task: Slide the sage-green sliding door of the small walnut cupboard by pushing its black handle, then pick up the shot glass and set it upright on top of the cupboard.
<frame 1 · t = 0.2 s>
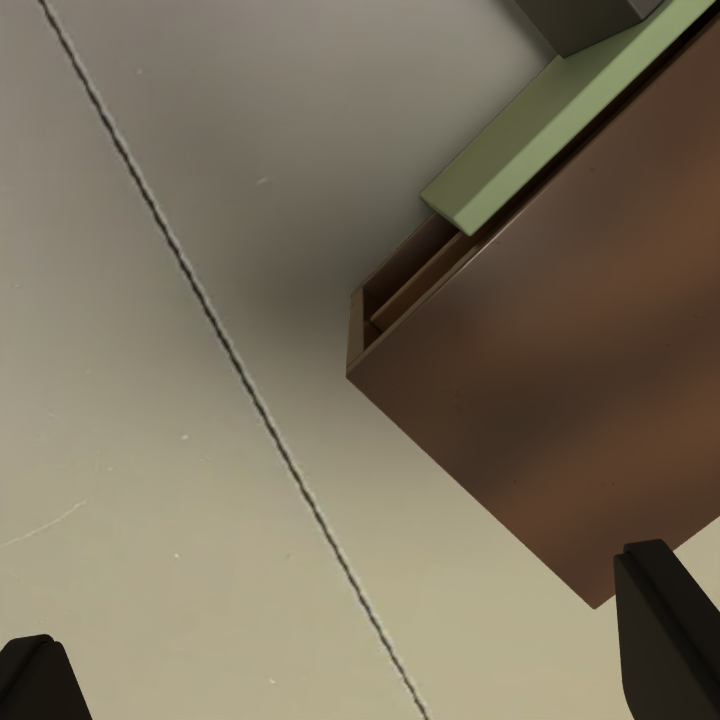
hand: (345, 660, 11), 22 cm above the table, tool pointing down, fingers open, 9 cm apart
sliding door: (485, 43, 22), point 6 cm above the table, slide at 0.0 cm
cupboard: (559, 265, 31), on the table
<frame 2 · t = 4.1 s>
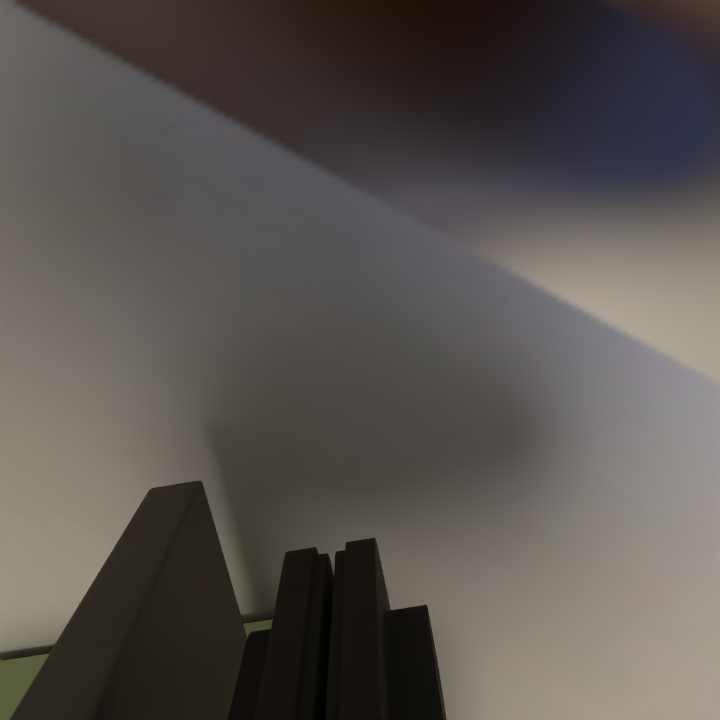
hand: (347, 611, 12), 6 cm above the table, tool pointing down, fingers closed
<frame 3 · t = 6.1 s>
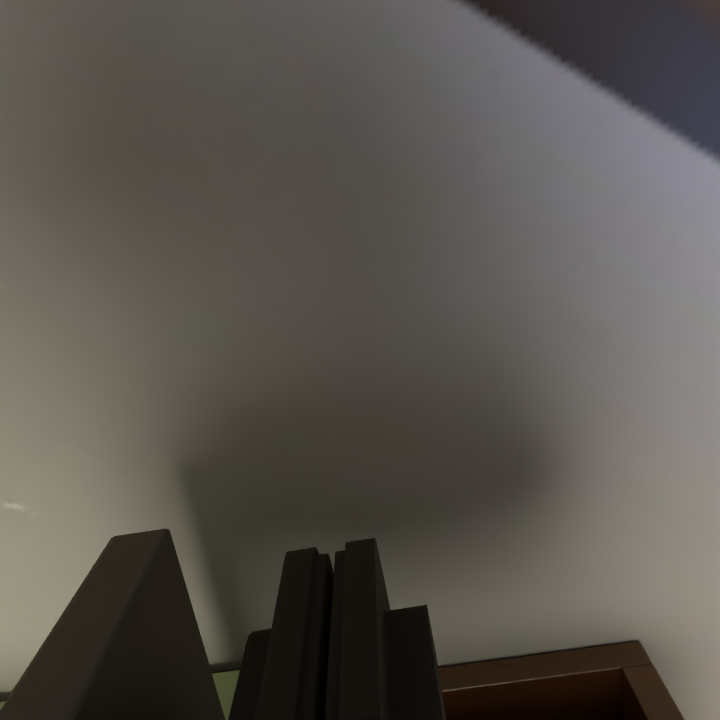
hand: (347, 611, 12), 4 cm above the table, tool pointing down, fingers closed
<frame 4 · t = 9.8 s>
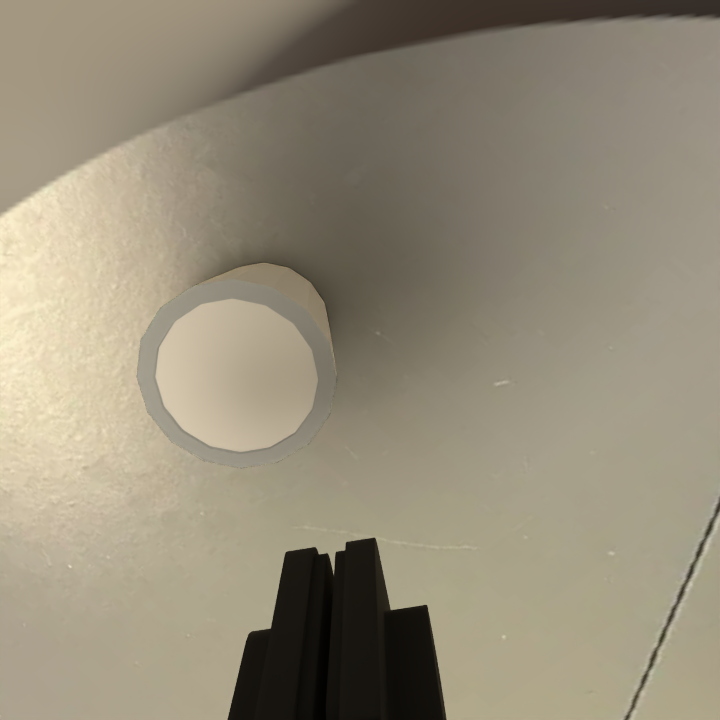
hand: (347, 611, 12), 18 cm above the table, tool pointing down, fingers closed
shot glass: (266, 324, 29), on the table
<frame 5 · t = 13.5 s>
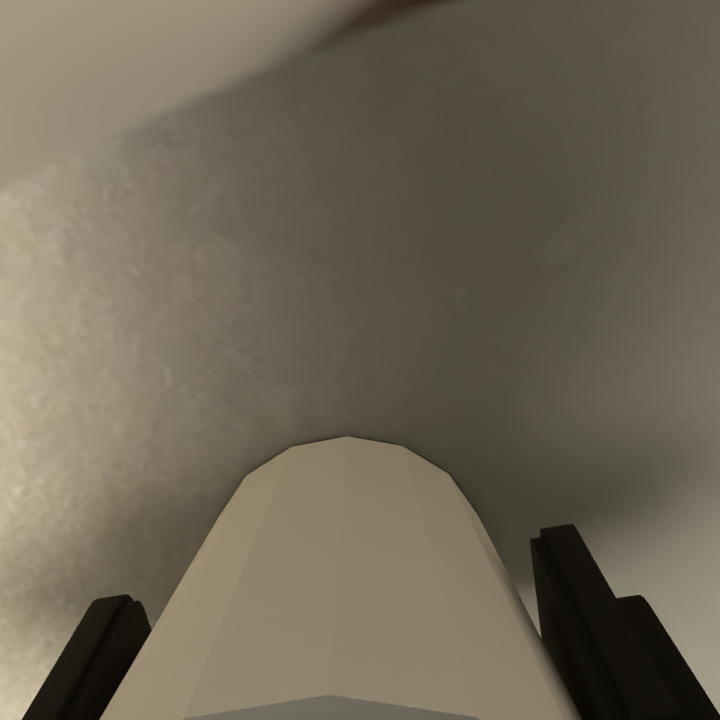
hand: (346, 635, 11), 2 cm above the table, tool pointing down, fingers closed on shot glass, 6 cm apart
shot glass: (349, 555, 14), on the table, touching gripper
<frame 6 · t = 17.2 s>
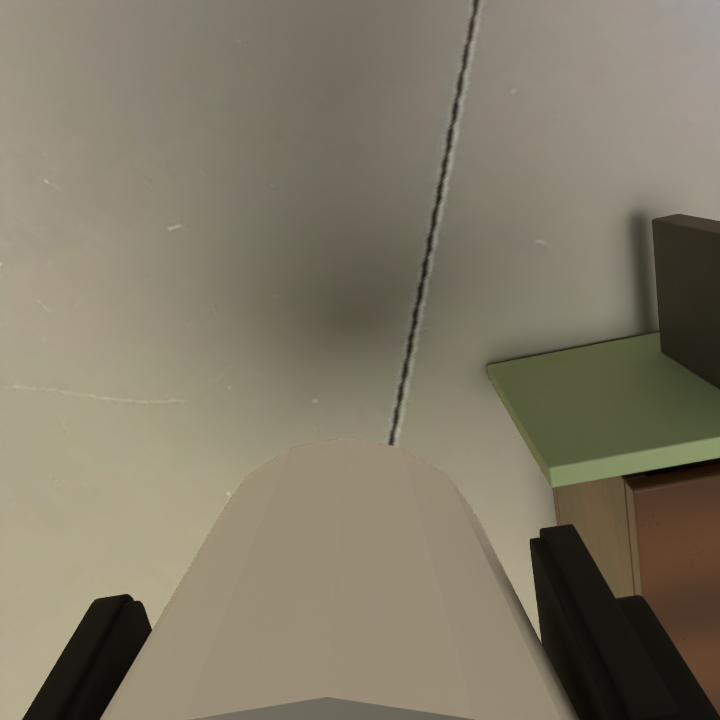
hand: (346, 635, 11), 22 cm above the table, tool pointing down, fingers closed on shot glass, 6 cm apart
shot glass: (348, 556, 14), point 19 cm above the table, touching gripper
sliding door: (627, 323, 26), point 6 cm above the table, slide at 8.0 cm
cupboard: (703, 450, 34), on the table
when the fingers open (14 cm above the table, at t = 20.9 s): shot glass stays where it is, resting on cupboard.
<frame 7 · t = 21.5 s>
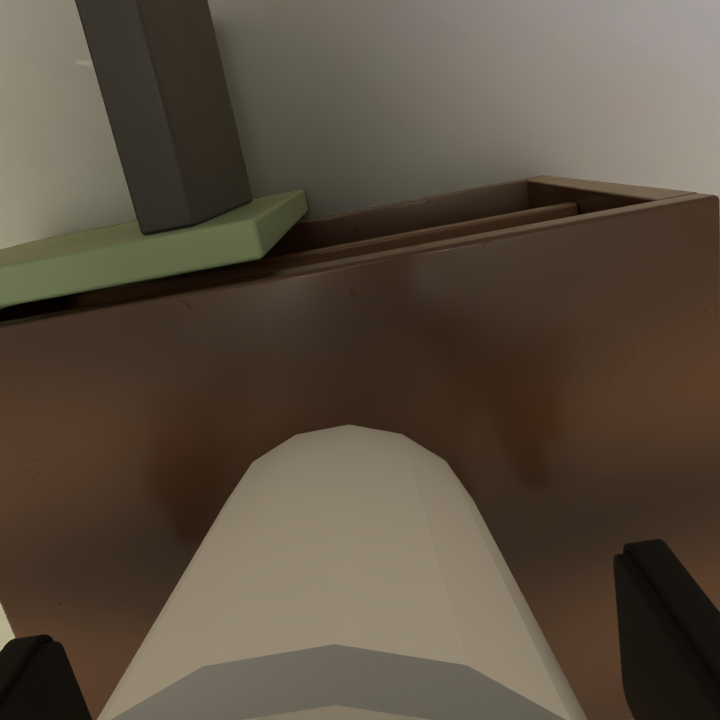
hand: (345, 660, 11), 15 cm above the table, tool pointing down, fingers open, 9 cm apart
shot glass: (350, 539, 14), point 12 cm above the table, touching cupboard
sliding door: (82, 135, 17), point 6 cm above the table, slide at 8.0 cm
cupboard: (355, 369, 25), on the table
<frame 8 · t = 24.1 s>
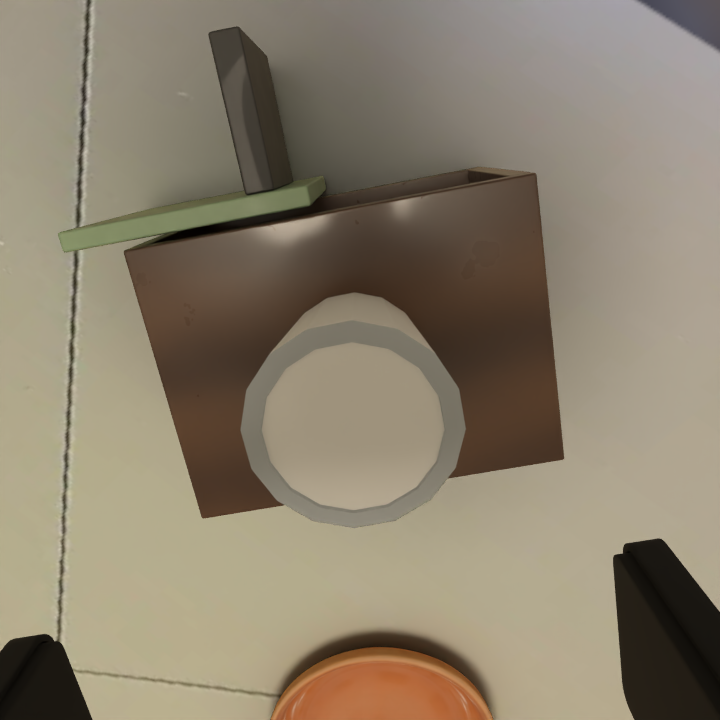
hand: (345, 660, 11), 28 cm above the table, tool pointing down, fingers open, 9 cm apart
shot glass: (355, 359, 26), point 12 cm above the table, touching cupboard
sliding door: (198, 141, 29), point 6 cm above the table, slide at 8.0 cm
saucer: (380, 715, 47), on the table
cupboard: (356, 298, 38), on the table
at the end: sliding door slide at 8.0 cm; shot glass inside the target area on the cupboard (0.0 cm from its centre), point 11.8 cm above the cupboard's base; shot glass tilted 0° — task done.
